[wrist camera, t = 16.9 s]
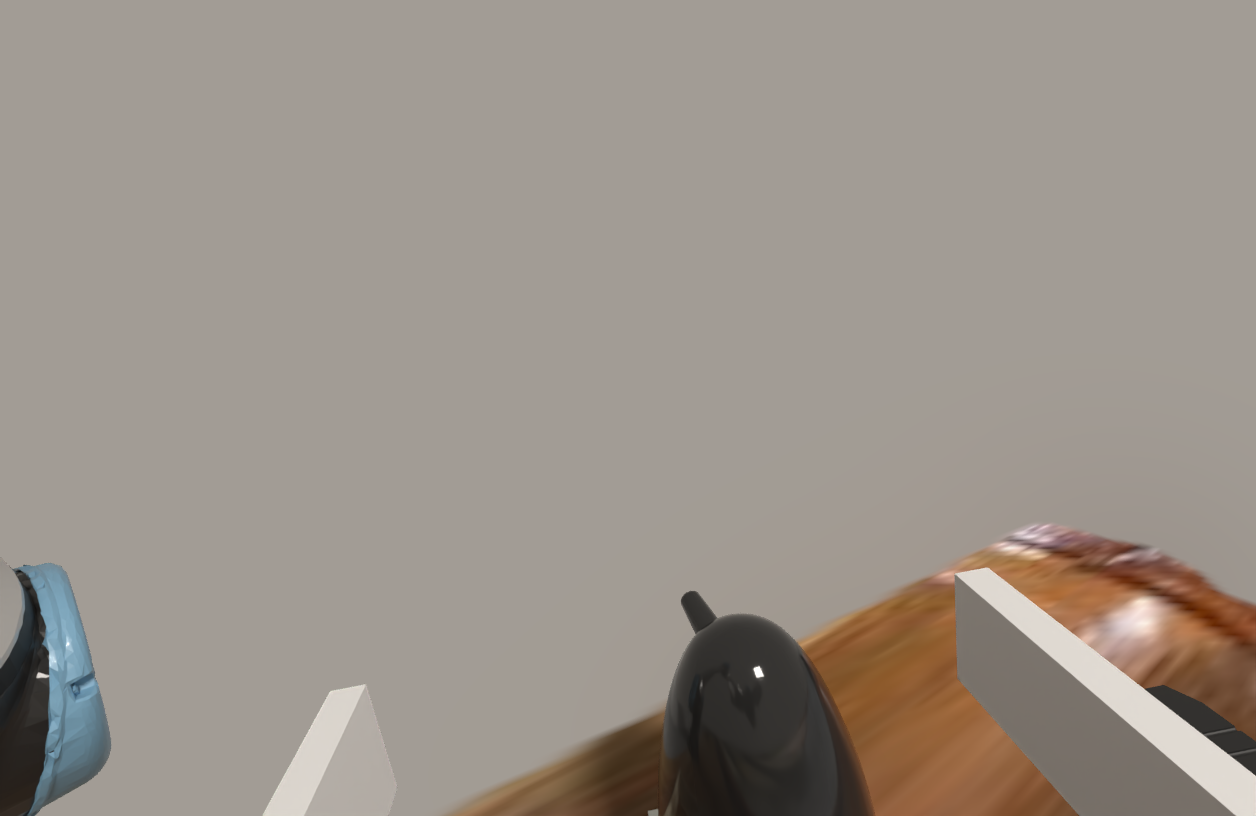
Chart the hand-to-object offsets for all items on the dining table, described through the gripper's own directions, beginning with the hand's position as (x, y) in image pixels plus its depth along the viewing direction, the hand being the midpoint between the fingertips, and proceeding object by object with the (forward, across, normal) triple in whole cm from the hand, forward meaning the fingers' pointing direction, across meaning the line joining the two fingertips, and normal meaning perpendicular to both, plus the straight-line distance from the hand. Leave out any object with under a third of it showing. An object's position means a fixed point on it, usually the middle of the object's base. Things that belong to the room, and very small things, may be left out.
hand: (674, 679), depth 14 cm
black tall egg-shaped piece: (+12, +4, -23) cm, 26 cm away
